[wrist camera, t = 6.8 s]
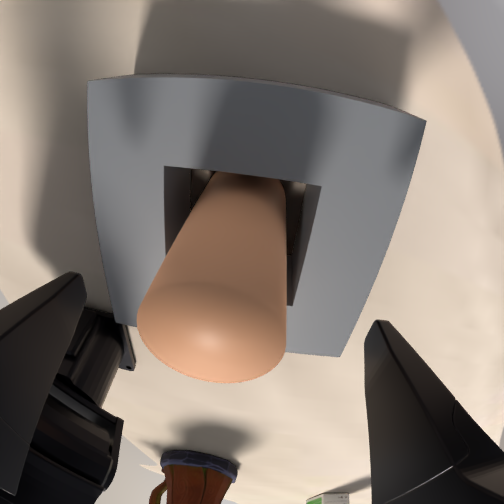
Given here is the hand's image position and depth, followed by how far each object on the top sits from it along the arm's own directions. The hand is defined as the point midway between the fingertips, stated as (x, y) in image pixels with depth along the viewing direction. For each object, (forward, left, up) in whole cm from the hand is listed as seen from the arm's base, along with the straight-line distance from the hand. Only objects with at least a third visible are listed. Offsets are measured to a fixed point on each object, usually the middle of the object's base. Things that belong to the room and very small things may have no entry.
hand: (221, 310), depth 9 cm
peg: (0, 0, -8) cm, 8 cm away
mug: (-43, +5, -8) cm, 44 cm away
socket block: (0, 0, -8) cm, 8 cm away
